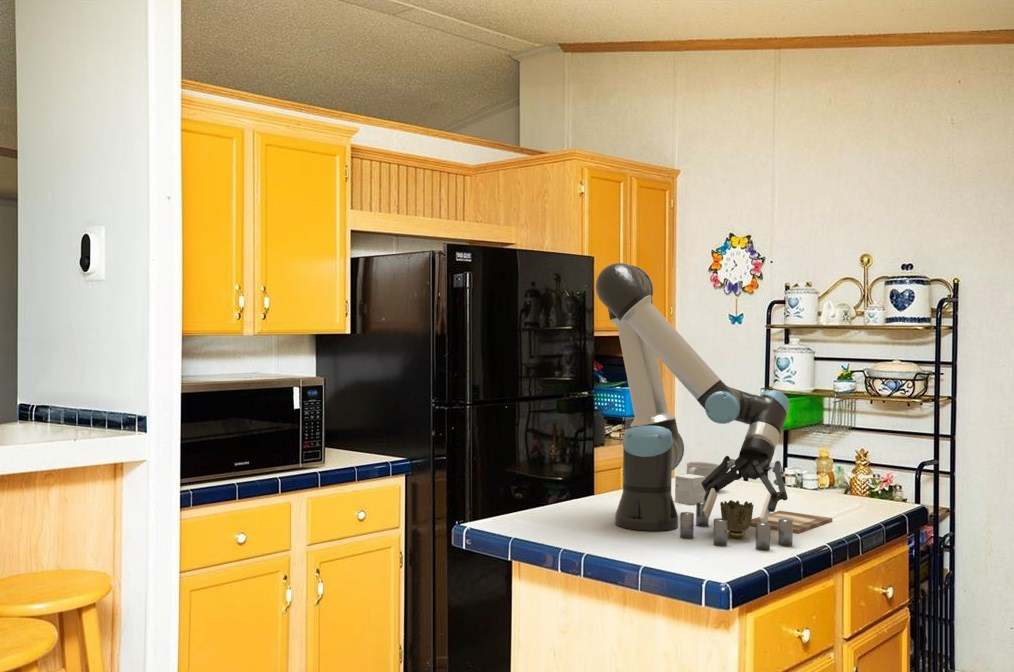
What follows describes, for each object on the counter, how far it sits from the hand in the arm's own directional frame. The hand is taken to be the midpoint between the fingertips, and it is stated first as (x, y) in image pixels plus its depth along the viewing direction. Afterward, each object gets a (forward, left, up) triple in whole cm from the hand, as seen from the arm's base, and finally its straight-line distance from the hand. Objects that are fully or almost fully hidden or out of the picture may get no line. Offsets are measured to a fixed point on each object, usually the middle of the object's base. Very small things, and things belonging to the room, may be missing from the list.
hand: (733, 518), depth 220 cm
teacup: (+21, +61, -5) cm, 65 cm away
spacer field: (0, +3, -5) cm, 6 cm away
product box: (+10, +45, -5) cm, 47 cm away
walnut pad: (+22, +14, -5) cm, 27 cm away
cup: (+1, +1, -5) cm, 5 cm away
